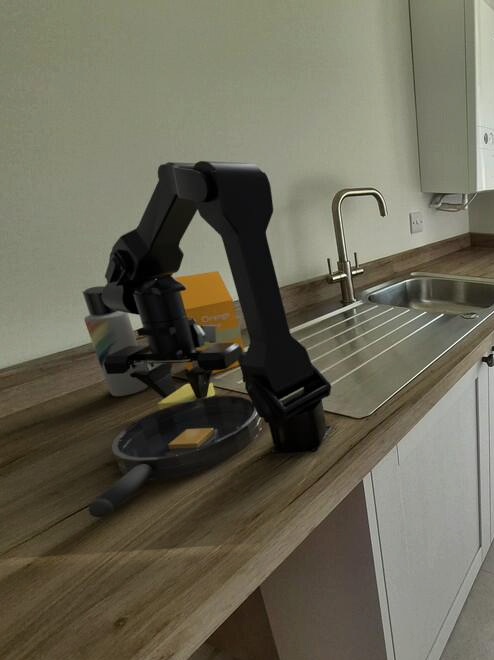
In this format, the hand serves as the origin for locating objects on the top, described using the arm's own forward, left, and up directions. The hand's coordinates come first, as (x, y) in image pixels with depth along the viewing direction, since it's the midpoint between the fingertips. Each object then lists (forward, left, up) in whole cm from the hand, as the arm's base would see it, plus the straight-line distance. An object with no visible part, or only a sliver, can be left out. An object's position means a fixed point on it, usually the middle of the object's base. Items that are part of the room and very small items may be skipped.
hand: (189, 402), depth 71 cm
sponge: (0, 0, -1) cm, 1 cm away
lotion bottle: (+16, -8, -1) cm, 18 cm away
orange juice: (+6, -18, -1) cm, 19 cm away
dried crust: (-7, +11, 0) cm, 13 cm away
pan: (-8, +11, -1) cm, 14 cm away
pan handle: (-8, +24, 0) cm, 25 cm away
